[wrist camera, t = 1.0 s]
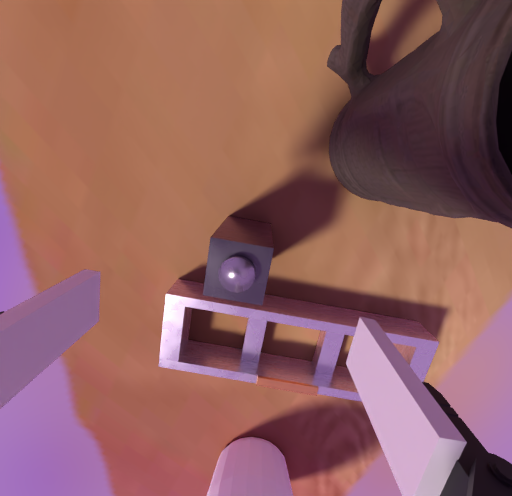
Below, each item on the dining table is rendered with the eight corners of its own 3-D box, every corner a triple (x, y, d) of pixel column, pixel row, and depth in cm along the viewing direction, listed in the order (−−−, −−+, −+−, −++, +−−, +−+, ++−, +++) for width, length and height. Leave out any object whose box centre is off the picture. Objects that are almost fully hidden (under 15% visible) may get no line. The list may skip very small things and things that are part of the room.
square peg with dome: (228, 215, 29) (209, 239, 19) (270, 223, 29) (274, 250, 19) (222, 256, 30) (201, 298, 20) (263, 263, 30) (262, 309, 20)
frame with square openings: (178, 278, 31) (164, 294, 27) (418, 321, 32) (441, 343, 28) (170, 344, 33) (157, 368, 29) (395, 383, 34) (413, 412, 30)
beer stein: (472, 135, 26) (1005, -2, 7) (393, 225, 29) (625, 309, 9) (345, 31, 25) (554, -462, 6) (274, 133, 28) (259, 16, 8)
